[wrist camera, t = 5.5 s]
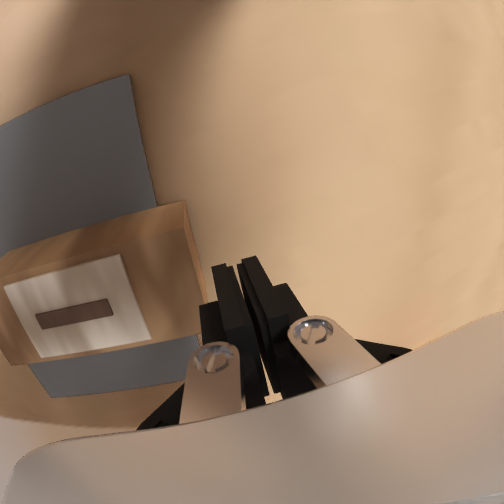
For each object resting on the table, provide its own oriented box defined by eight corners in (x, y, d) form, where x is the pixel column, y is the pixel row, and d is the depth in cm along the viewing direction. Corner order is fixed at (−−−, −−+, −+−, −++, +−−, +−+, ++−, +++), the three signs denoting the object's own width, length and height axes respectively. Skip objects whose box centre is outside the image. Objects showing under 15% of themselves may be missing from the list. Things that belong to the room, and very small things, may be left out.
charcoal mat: (-51, 159, 12) (-55, 160, 12) (129, 75, 14) (128, 73, 13) (52, 394, 20) (51, 397, 20) (208, 371, 22) (209, 374, 21)
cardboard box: (184, 200, 16) (8, 251, 15) (183, 230, 12) (-35, 291, 10) (204, 281, 18) (38, 318, 17) (213, 335, 14) (9, 369, 12)
